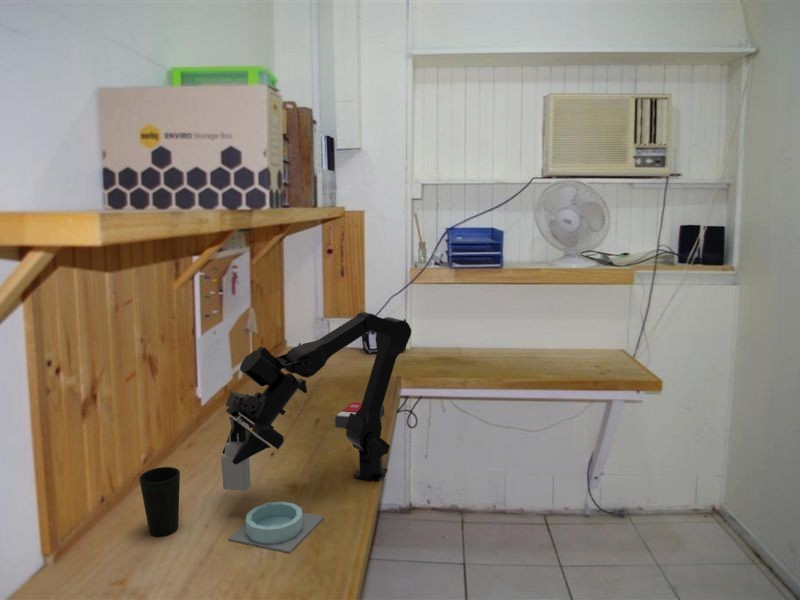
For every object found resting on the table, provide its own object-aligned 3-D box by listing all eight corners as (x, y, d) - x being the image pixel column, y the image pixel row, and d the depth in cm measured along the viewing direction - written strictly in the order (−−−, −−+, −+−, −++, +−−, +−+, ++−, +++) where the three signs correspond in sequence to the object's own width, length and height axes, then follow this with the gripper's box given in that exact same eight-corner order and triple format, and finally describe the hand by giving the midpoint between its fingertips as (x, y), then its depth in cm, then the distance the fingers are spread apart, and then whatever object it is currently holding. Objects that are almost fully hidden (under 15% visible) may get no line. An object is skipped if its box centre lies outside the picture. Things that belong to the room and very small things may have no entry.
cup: (188, 519, 131) (184, 466, 129) (176, 539, 124) (172, 482, 122) (151, 520, 131) (147, 467, 129) (137, 540, 123) (133, 483, 121)
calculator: (384, 403, 196) (369, 416, 181) (384, 416, 196) (369, 431, 182) (351, 400, 198) (334, 413, 184) (351, 413, 199) (334, 427, 185)
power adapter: (228, 482, 134) (225, 429, 132) (252, 484, 133) (248, 431, 131) (221, 489, 131) (218, 435, 129) (245, 491, 130) (242, 436, 128)
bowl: (266, 512, 133) (265, 498, 133) (312, 521, 129) (311, 506, 129) (235, 538, 123) (234, 523, 122) (284, 548, 119) (283, 533, 118)
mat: (266, 507, 136) (266, 506, 136) (323, 518, 131) (323, 516, 131) (228, 540, 123) (228, 538, 123) (289, 553, 118) (289, 551, 118)
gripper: (232, 367, 138) (185, 426, 133) (266, 387, 123) (215, 454, 118) (267, 395, 143) (223, 452, 139) (304, 417, 128) (256, 481, 124)
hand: (228, 458), depth 130 cm, fingers closed on power adapter, 5 cm apart
